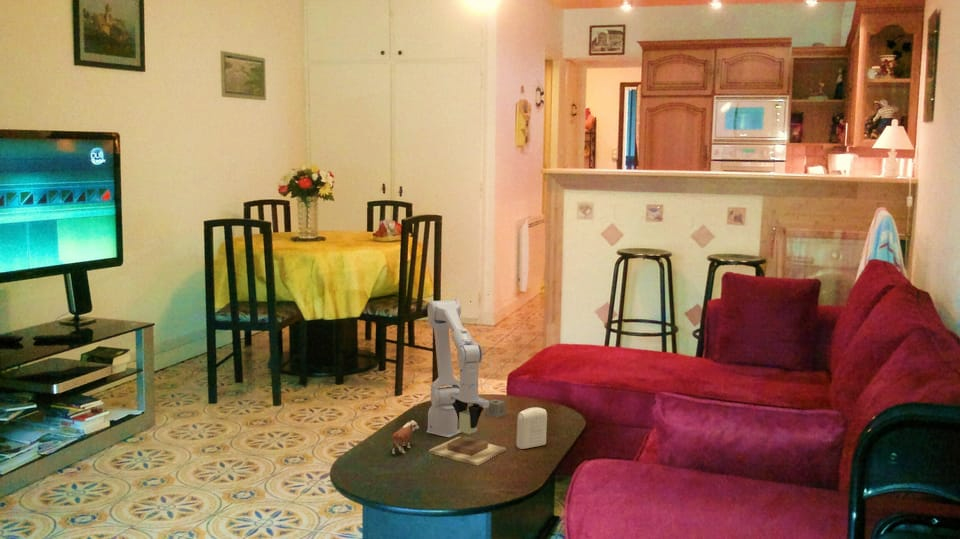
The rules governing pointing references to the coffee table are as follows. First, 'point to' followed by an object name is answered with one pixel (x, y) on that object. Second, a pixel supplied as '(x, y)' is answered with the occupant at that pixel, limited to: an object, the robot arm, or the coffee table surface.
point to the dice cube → (496, 408)
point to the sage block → (465, 422)
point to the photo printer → (531, 428)
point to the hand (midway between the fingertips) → (468, 425)
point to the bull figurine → (404, 436)
